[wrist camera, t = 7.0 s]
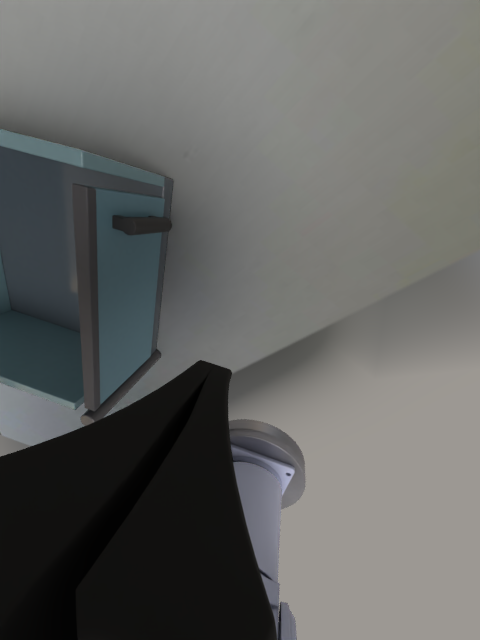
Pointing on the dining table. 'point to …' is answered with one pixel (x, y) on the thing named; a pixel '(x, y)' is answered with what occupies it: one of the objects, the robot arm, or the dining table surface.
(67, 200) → the light blue open box
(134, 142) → the dining table surface
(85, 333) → the blue flat panel
